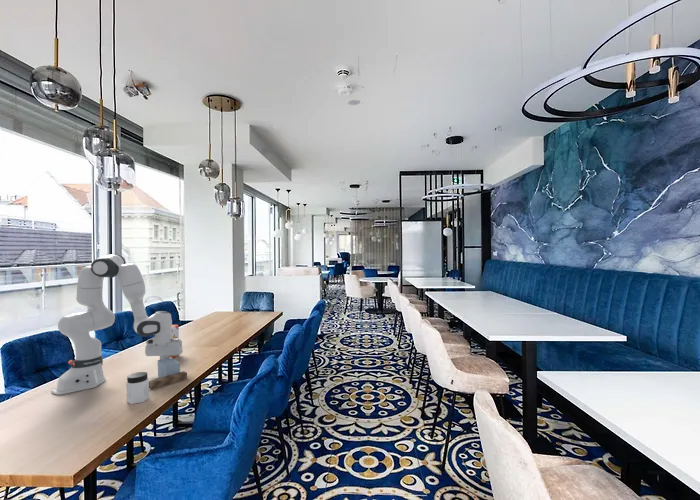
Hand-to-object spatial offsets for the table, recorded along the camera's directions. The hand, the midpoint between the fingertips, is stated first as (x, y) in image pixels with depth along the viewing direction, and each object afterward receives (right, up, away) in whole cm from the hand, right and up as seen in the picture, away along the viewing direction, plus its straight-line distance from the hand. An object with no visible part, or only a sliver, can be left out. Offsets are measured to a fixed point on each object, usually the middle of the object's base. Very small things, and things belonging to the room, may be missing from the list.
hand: (164, 363), depth 198 cm
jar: (+7, -6, -36) cm, 37 cm away
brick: (+6, -6, -6) cm, 11 cm away
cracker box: (-12, -7, +29) cm, 32 cm away
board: (+10, -6, -15) cm, 20 cm away
